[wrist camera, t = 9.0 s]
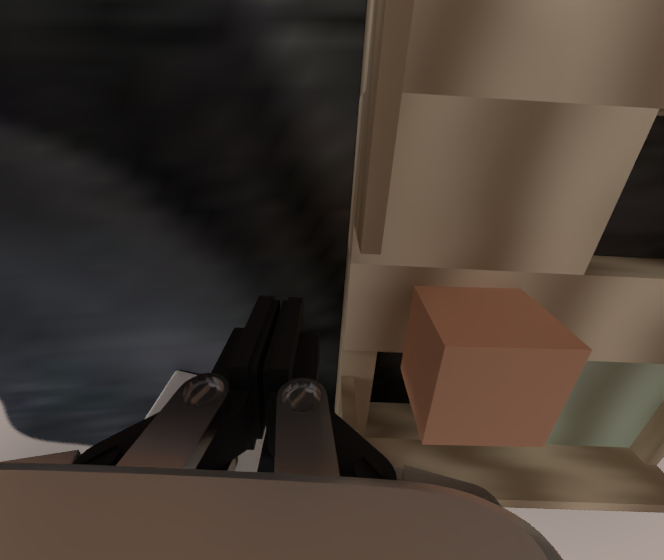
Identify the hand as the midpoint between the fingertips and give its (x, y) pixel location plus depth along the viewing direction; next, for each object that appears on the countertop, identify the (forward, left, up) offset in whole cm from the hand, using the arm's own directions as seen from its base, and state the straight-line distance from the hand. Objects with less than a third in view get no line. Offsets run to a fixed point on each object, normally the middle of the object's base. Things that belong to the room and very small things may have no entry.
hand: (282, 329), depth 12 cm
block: (+8, -1, -2) cm, 8 cm away
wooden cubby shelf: (+11, +1, -4) cm, 12 cm away
